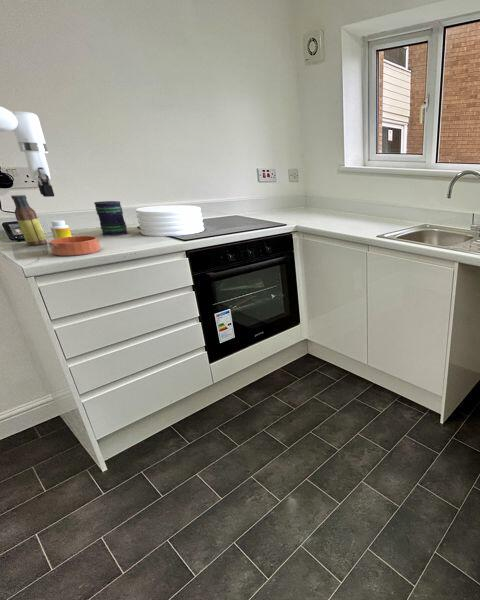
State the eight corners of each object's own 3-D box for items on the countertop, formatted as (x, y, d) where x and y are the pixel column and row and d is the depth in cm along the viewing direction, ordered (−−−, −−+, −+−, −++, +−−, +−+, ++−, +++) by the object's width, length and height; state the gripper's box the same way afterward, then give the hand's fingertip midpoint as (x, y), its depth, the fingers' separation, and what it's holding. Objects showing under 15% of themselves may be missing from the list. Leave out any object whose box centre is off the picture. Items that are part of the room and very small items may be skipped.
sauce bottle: (44, 241, 151) (28, 194, 143) (50, 243, 148) (33, 195, 140) (23, 244, 145) (5, 194, 138) (29, 246, 142) (10, 196, 135)
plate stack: (131, 230, 178) (126, 207, 174) (188, 224, 200) (184, 204, 196) (155, 238, 164) (150, 213, 159) (214, 231, 185) (211, 209, 181)
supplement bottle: (78, 244, 148) (70, 220, 144) (65, 247, 143) (57, 222, 139) (66, 243, 149) (58, 219, 145) (52, 246, 143) (44, 221, 140)
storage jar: (98, 234, 169) (89, 202, 163) (120, 231, 177) (112, 200, 171) (110, 236, 165) (101, 203, 159) (132, 233, 173) (124, 202, 168)
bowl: (55, 258, 128) (50, 245, 126) (51, 251, 137) (46, 238, 135) (104, 252, 138) (100, 240, 136) (97, 246, 146) (94, 234, 145)
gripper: (18, 147, 134) (32, 194, 140) (20, 147, 124) (36, 197, 130) (45, 149, 140) (58, 193, 146) (49, 149, 129) (63, 197, 135)
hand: (47, 195), depth 138 cm, fingers open, 9 cm apart
